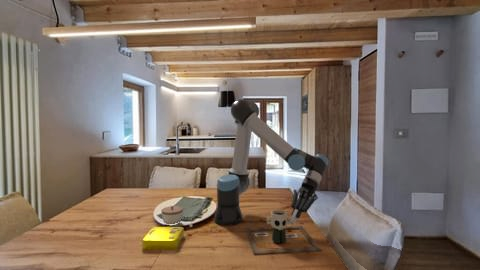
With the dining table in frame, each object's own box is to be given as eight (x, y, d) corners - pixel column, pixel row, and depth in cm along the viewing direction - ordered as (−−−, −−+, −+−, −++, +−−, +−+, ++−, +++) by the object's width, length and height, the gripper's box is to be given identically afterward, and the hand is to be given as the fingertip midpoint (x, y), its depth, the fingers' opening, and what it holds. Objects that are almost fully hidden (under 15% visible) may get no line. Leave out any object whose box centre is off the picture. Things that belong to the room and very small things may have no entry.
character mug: (268, 245, 118) (268, 215, 118) (265, 238, 125) (265, 210, 125) (293, 244, 119) (293, 214, 119) (288, 237, 127) (288, 209, 126)
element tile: (153, 235, 130) (152, 225, 130) (184, 235, 130) (184, 225, 130) (140, 250, 116) (140, 239, 115) (176, 250, 115) (176, 239, 115)
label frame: (253, 254, 110) (253, 253, 110) (245, 229, 135) (245, 228, 135) (321, 250, 113) (321, 249, 113) (301, 227, 138) (301, 225, 138)
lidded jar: (187, 223, 144) (186, 205, 143) (169, 229, 136) (168, 210, 135) (175, 218, 151) (175, 201, 150) (157, 224, 143) (157, 206, 143)
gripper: (325, 188, 137) (307, 231, 126) (302, 183, 146) (283, 223, 135) (320, 179, 132) (300, 222, 122) (297, 175, 142) (277, 215, 131)
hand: (291, 223), depth 128 cm, fingers closed
